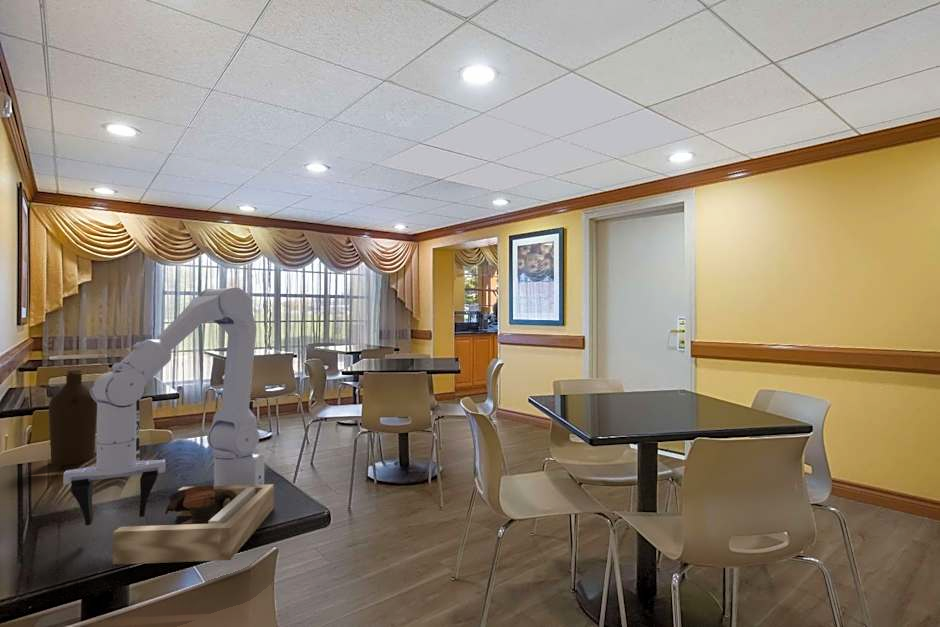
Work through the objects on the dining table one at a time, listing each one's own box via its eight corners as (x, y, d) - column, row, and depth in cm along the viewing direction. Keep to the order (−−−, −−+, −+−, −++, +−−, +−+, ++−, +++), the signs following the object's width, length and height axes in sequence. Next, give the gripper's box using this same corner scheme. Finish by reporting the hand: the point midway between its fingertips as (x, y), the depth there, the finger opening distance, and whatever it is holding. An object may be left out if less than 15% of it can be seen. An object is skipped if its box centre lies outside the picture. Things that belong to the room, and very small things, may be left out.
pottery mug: (162, 543, 87) (157, 494, 90) (178, 547, 95) (172, 502, 98) (238, 518, 91) (230, 473, 94) (247, 524, 99) (240, 482, 102)
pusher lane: (273, 509, 102) (273, 484, 102) (230, 560, 80) (230, 527, 80) (182, 512, 101) (182, 486, 101) (112, 564, 79) (113, 531, 79)
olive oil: (106, 457, 143) (107, 368, 144) (65, 468, 133) (66, 371, 134) (80, 454, 147) (81, 367, 147) (38, 464, 137) (39, 370, 137)
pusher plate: (255, 512, 99) (255, 486, 99) (218, 552, 82) (218, 520, 82) (247, 513, 99) (247, 487, 99) (208, 552, 82) (208, 520, 82)
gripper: (166, 432, 97) (165, 504, 96) (69, 440, 90) (69, 519, 89) (164, 439, 90) (163, 517, 90) (60, 449, 84) (59, 533, 83)
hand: (116, 519), depth 89 cm, fingers open, 7 cm apart
